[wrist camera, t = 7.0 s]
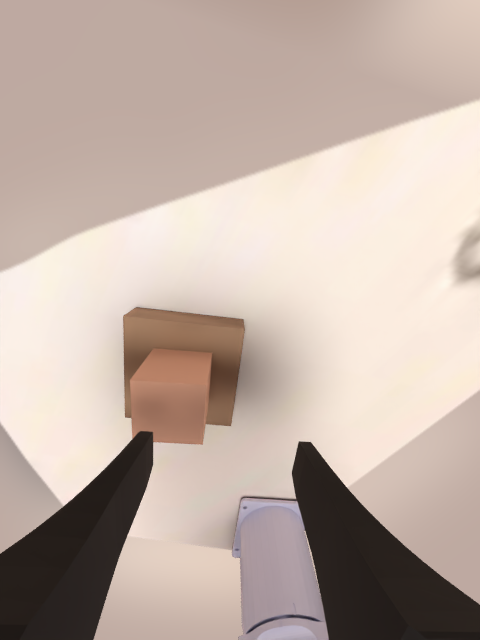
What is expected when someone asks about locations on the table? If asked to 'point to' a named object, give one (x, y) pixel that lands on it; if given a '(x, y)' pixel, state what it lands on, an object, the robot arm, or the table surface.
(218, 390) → the base block
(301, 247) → the table surface
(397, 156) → the table surface
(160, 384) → the cube
